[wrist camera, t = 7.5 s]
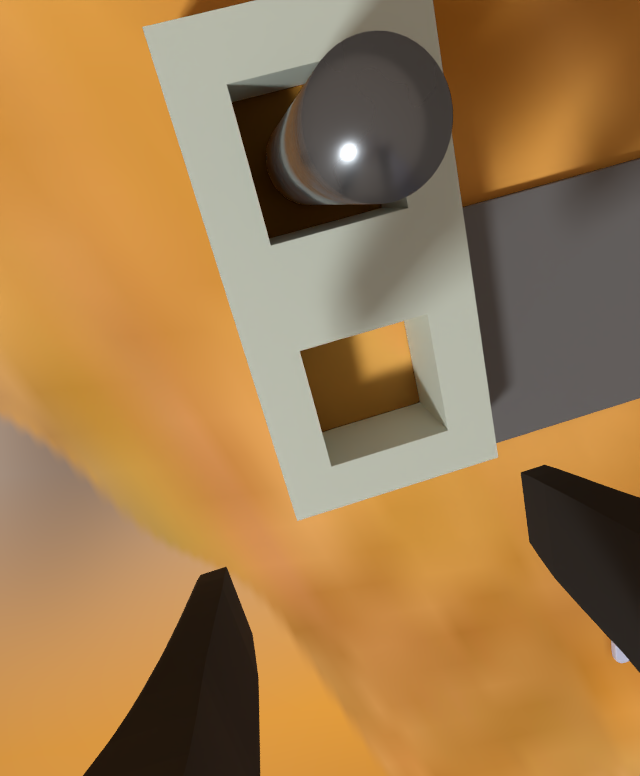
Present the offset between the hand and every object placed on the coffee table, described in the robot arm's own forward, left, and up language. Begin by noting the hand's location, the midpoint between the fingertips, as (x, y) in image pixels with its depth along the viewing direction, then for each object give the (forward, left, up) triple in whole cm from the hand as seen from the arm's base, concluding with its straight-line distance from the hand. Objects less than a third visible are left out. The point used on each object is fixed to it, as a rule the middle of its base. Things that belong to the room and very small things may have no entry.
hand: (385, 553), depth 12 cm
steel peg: (+9, -2, -10) cm, 13 cm away
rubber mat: (+1, -12, -10) cm, 16 cm away
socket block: (+5, -2, -10) cm, 11 cm away
